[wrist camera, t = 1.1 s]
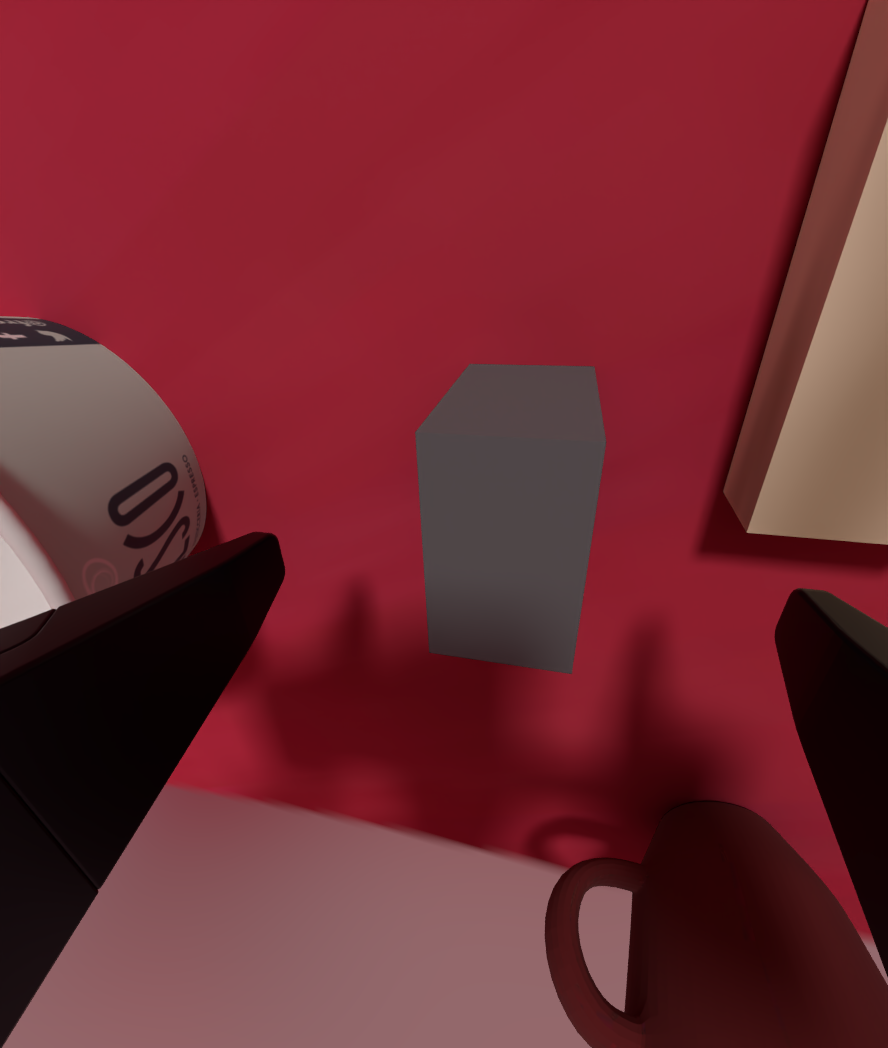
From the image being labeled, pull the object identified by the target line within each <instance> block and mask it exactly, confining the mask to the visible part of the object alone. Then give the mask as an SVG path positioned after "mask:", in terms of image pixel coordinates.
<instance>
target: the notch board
mask: <svg viewBox="0 0 888 1048" xmlns="http://www.w3.org/2000/svg"><path fill="white" fill-rule="evenodd" d="M723 493H724V494H725V496H726V498H727V500H728V501H729V503H730V505H731V507H732V508H733V510H734V512H735V513H736V515H737V517H738V519H739V520H740V522H741V524H742V526H743V527H744V529H745V531H746V532H747V533H756V534H768V535H780V536H791V537H803V538H815V539H827V540H839V541H851V542H863V543H874V544H886V545H888V0H868V4H867V7H866V11H865V14H864V17H863V21H862V24H861V27H860V31H859V34H858V38H857V41H856V44H855V48H854V51H853V55H852V58H851V61H850V65H849V68H848V71H847V75H846V78H845V82H844V85H843V88H842V92H841V95H840V98H839V102H838V105H837V109H836V112H835V115H834V119H833V122H832V125H831V129H830V132H829V136H828V139H827V142H826V146H825V149H824V152H823V156H822V159H821V163H820V166H819V169H818V173H817V176H816V179H815V183H814V186H813V190H812V193H811V196H810V200H809V203H808V206H807V210H806V213H805V217H804V220H803V223H802V227H801V230H800V233H799V237H798V240H797V244H796V247H795V250H794V254H793V257H792V260H791V264H790V267H789V271H788V274H787V277H786V281H785V284H784V287H783V291H782V294H781V298H780V301H779V304H778V308H777V311H776V314H775V318H774V321H773V325H772V328H771V331H770V335H769V338H768V341H767V345H766V348H765V352H764V355H763V358H762V362H761V365H760V368H759V372H758V375H757V379H756V382H755V385H754V389H753V392H752V395H751V399H750V402H749V406H748V409H747V412H746V416H745V419H744V422H743V426H742V429H741V433H740V436H739V439H738V443H737V446H736V449H735V453H734V456H733V460H732V463H731V466H730V470H729V473H728V476H727V480H726V483H725V487H724V490H723Z"/></svg>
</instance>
